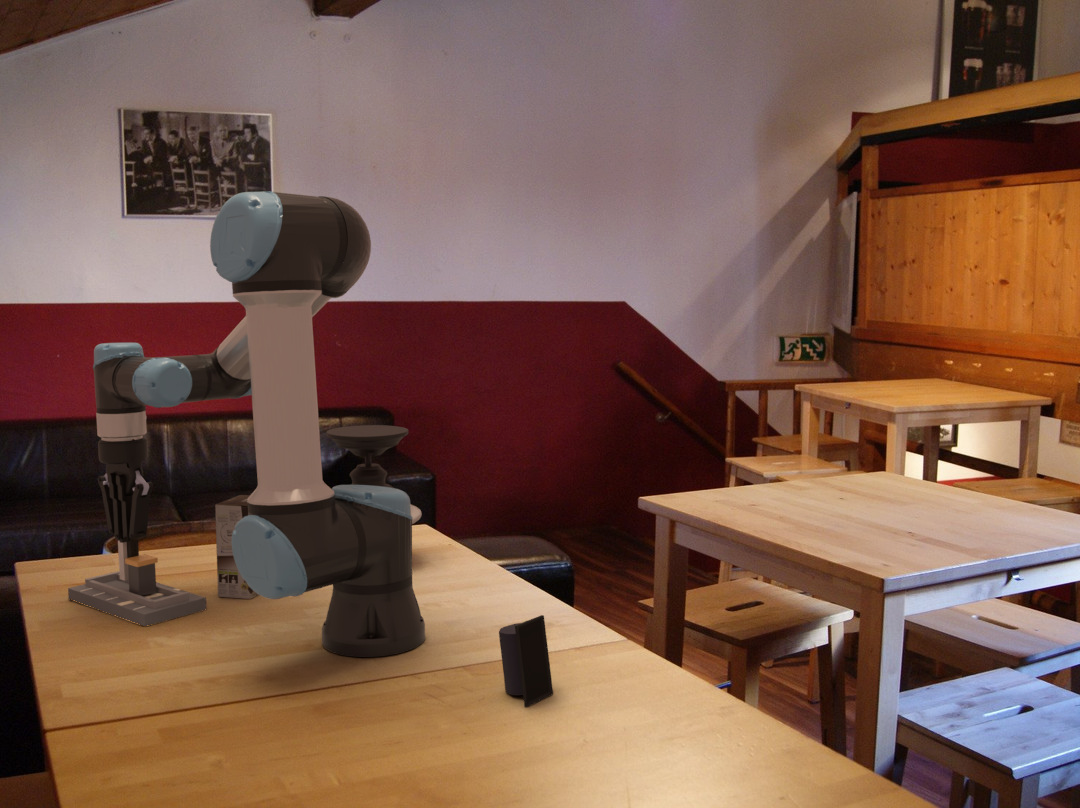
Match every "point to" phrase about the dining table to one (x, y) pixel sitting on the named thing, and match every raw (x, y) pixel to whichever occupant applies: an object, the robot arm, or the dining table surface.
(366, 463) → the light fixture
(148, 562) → the fader tab
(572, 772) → the dining table surface
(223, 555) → the coffee box
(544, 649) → the speaker
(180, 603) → the console board
